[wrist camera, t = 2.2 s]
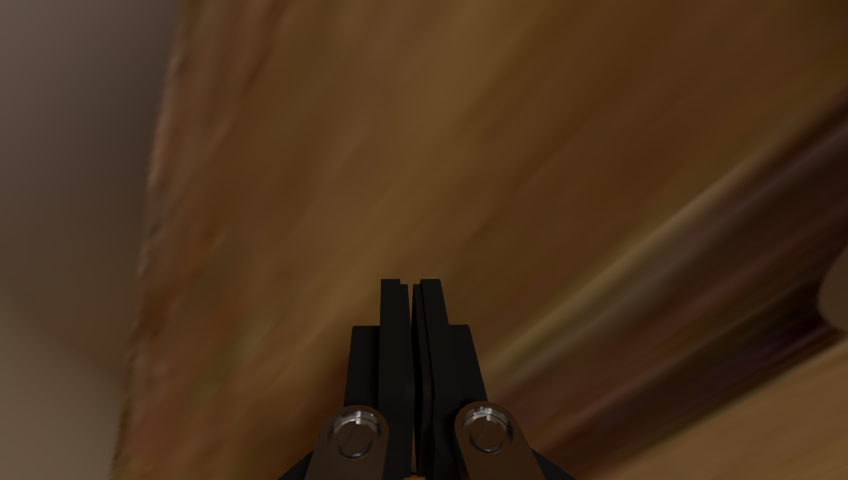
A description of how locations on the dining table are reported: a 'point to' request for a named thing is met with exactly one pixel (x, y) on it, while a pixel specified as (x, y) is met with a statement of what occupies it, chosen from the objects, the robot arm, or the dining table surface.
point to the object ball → (414, 478)
